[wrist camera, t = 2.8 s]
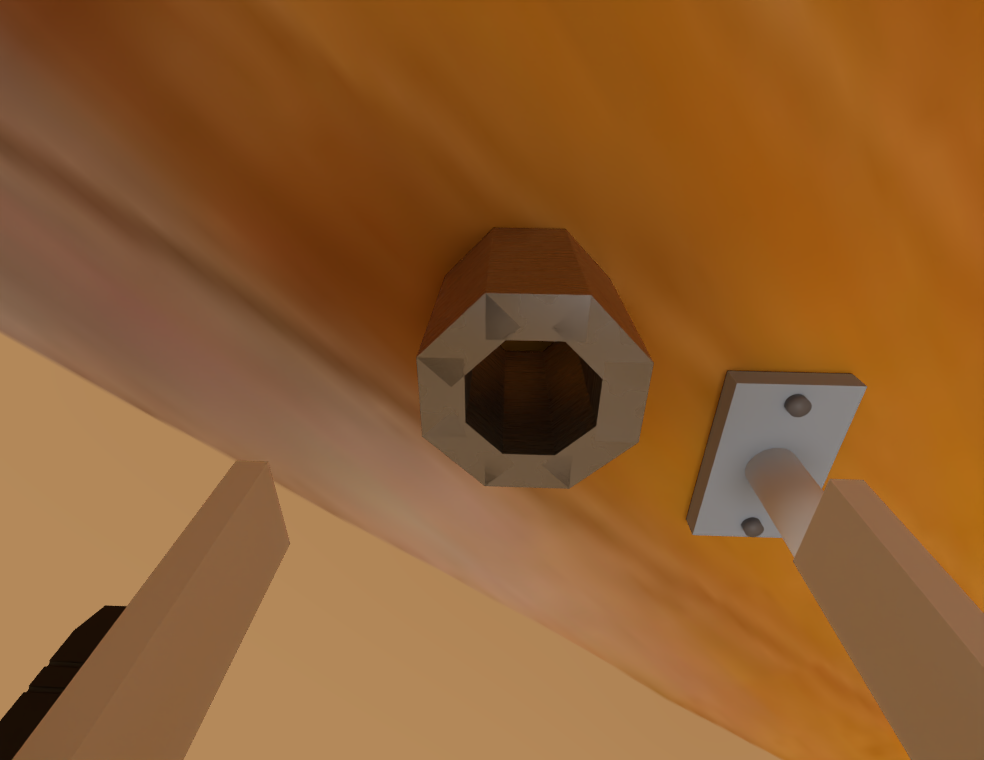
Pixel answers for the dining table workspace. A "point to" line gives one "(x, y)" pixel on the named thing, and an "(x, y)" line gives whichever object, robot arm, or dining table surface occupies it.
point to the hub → (531, 363)
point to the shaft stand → (771, 453)
